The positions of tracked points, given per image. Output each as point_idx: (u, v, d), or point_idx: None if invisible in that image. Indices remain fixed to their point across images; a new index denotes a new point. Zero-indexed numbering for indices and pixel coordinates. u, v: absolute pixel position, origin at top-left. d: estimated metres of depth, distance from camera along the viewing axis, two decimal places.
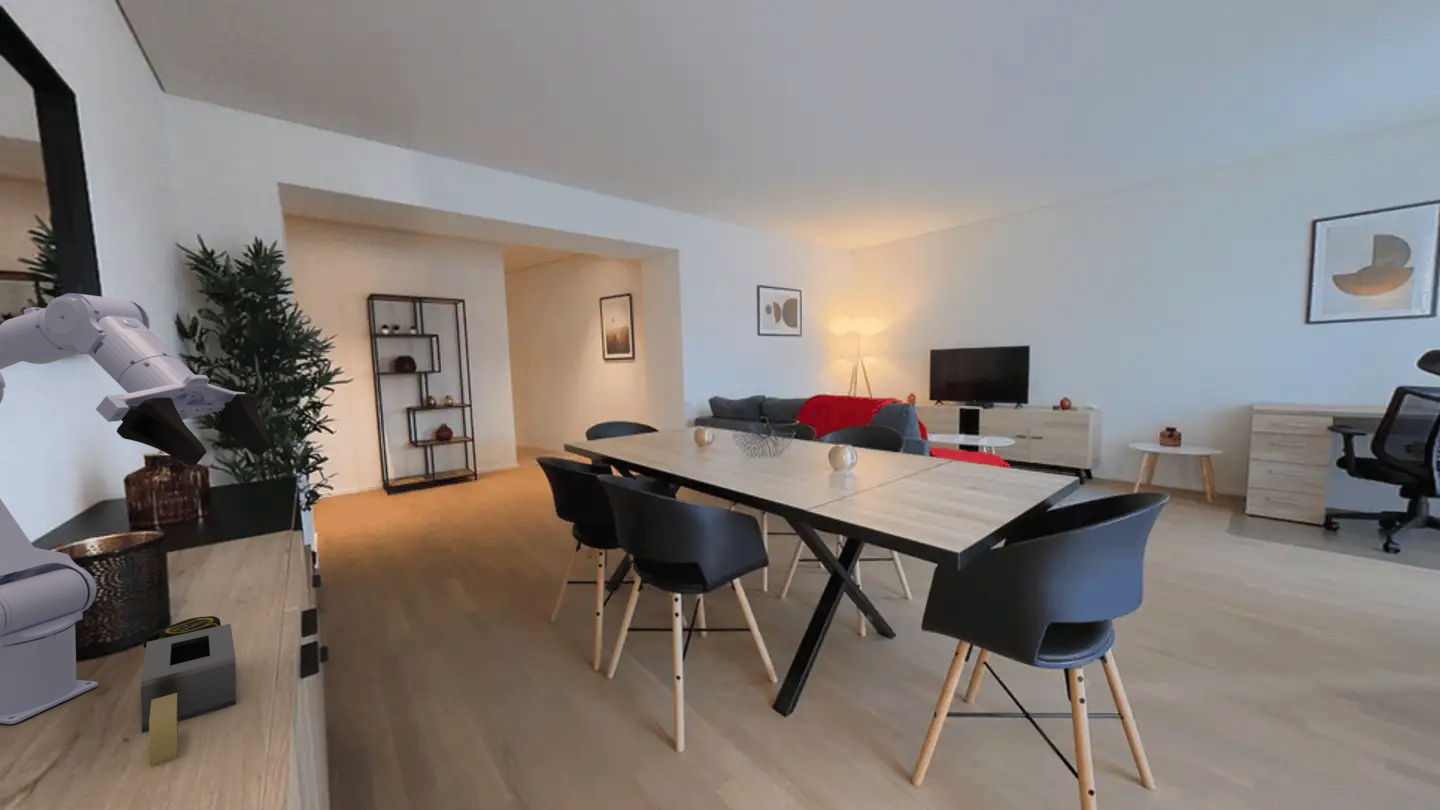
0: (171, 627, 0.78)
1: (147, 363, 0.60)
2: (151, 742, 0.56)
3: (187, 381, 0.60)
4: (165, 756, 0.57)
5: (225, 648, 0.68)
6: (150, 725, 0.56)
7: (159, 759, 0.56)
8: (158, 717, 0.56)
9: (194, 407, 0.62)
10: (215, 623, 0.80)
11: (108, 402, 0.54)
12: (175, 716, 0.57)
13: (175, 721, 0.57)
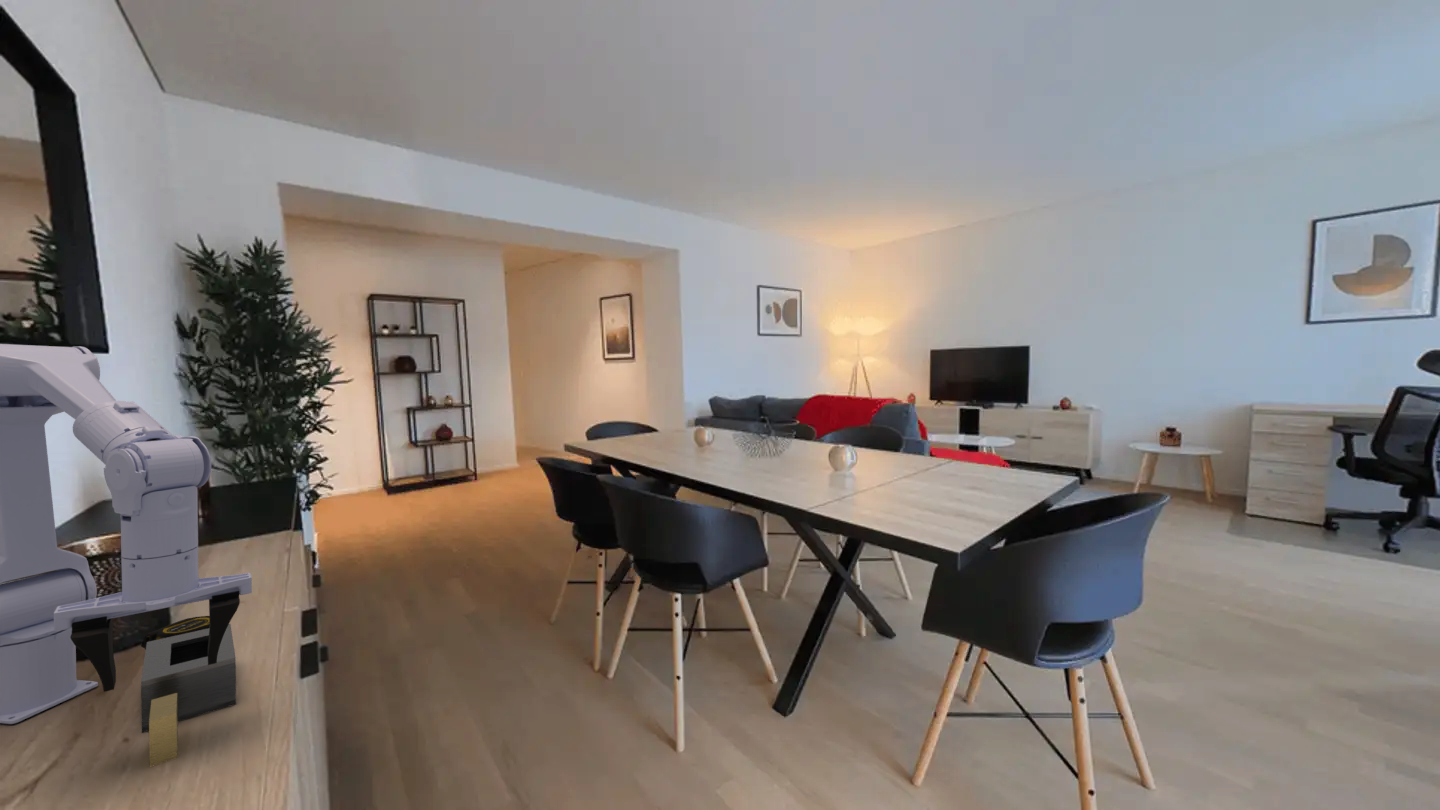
0: (169, 627, 0.78)
1: (137, 562, 0.55)
2: (151, 742, 0.56)
3: (146, 606, 0.54)
4: (165, 756, 0.57)
5: (225, 648, 0.68)
6: (150, 725, 0.56)
7: (159, 759, 0.56)
8: (158, 717, 0.56)
9: None
10: None
11: (54, 618, 0.52)
12: (175, 716, 0.57)
13: (175, 721, 0.57)
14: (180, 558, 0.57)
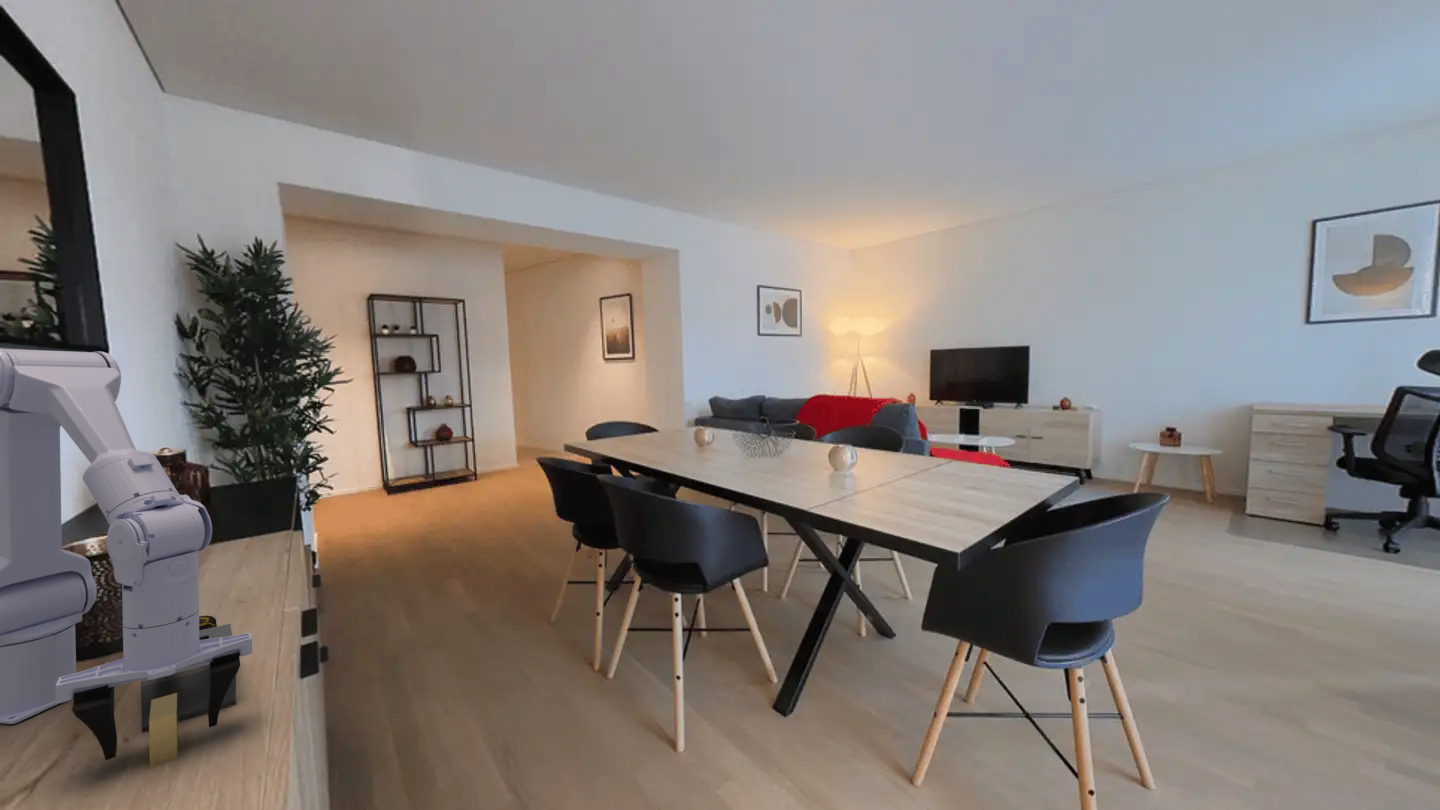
0: None
1: (138, 631, 0.55)
2: (151, 742, 0.56)
3: (147, 675, 0.55)
4: (165, 756, 0.57)
5: None
6: (150, 725, 0.56)
7: (159, 759, 0.56)
8: (158, 717, 0.56)
9: None
10: (211, 623, 0.80)
11: (56, 690, 0.52)
12: (175, 716, 0.57)
13: (175, 721, 0.57)
14: (181, 625, 0.57)
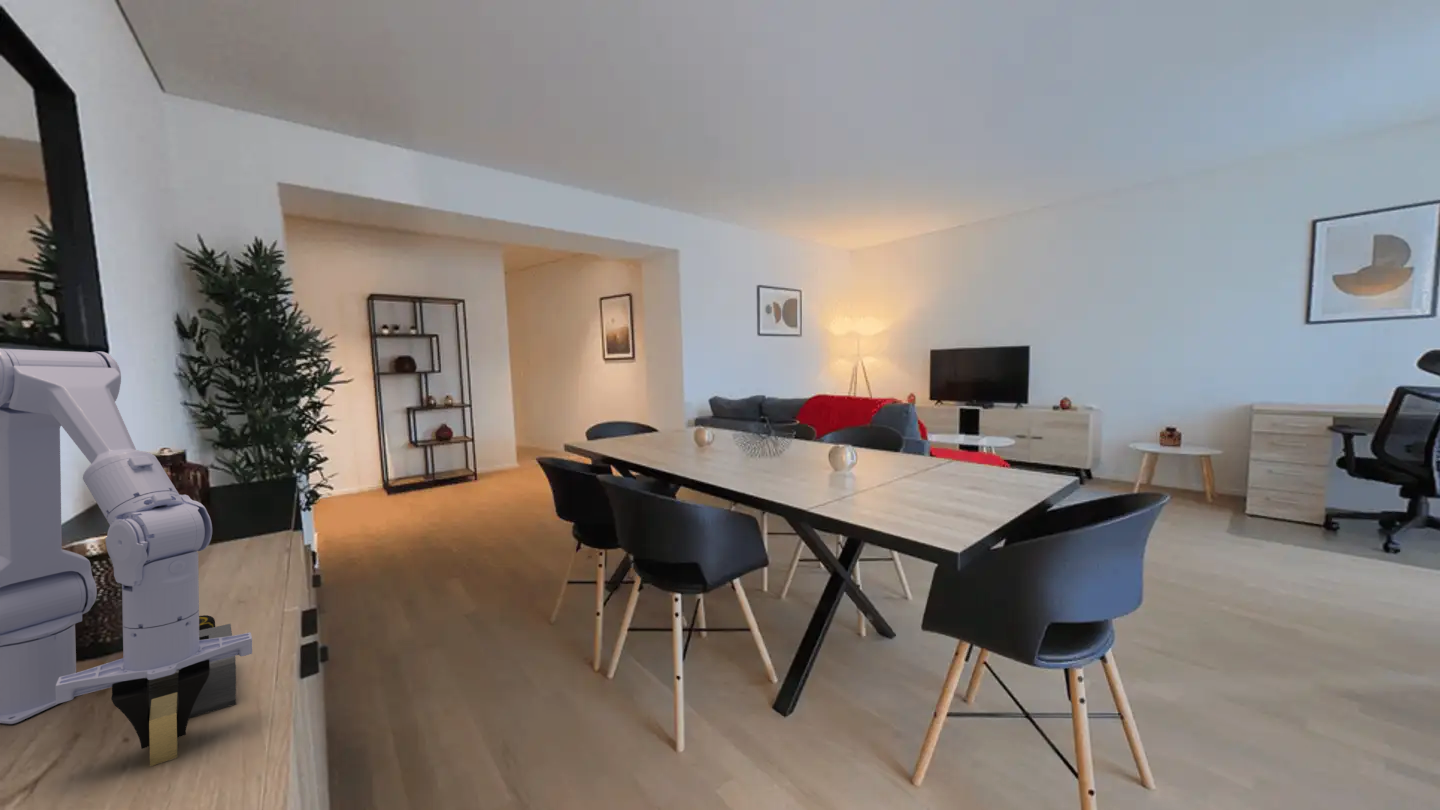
0: None
1: (138, 631, 0.55)
2: (151, 741, 0.56)
3: (147, 675, 0.55)
4: (165, 755, 0.57)
5: None
6: (150, 724, 0.56)
7: (159, 758, 0.56)
8: (158, 716, 0.56)
9: None
10: (210, 622, 0.80)
11: (56, 690, 0.52)
12: (175, 715, 0.57)
13: (175, 720, 0.57)
14: (181, 625, 0.57)
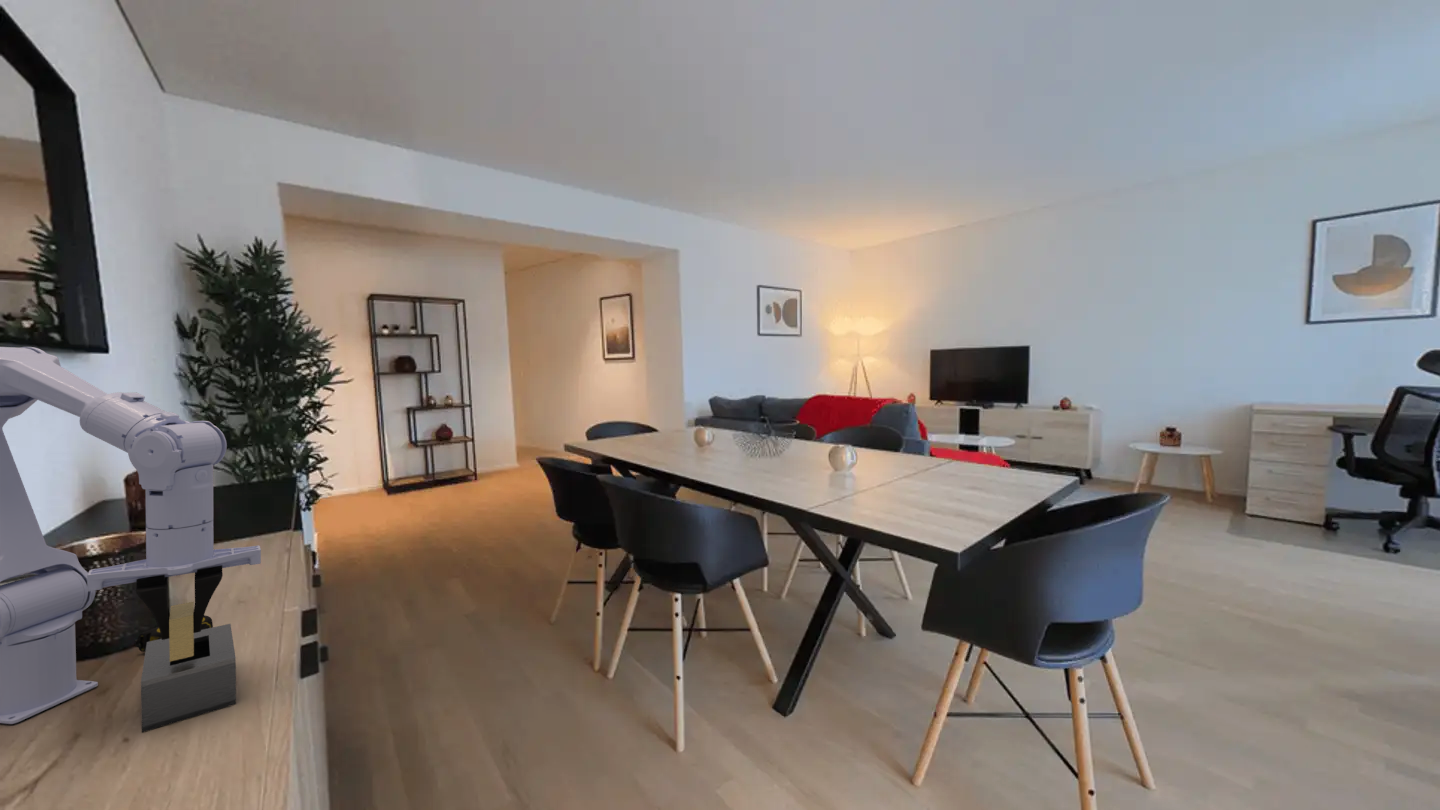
0: None
1: (159, 532, 0.61)
2: (171, 639, 0.62)
3: None
4: (183, 653, 0.63)
5: (225, 648, 0.68)
6: (170, 623, 0.62)
7: (178, 655, 0.63)
8: (177, 617, 0.63)
9: (186, 572, 0.64)
10: (207, 622, 0.80)
11: (87, 580, 0.59)
12: (192, 617, 0.63)
13: (192, 622, 0.63)
14: (197, 529, 0.63)
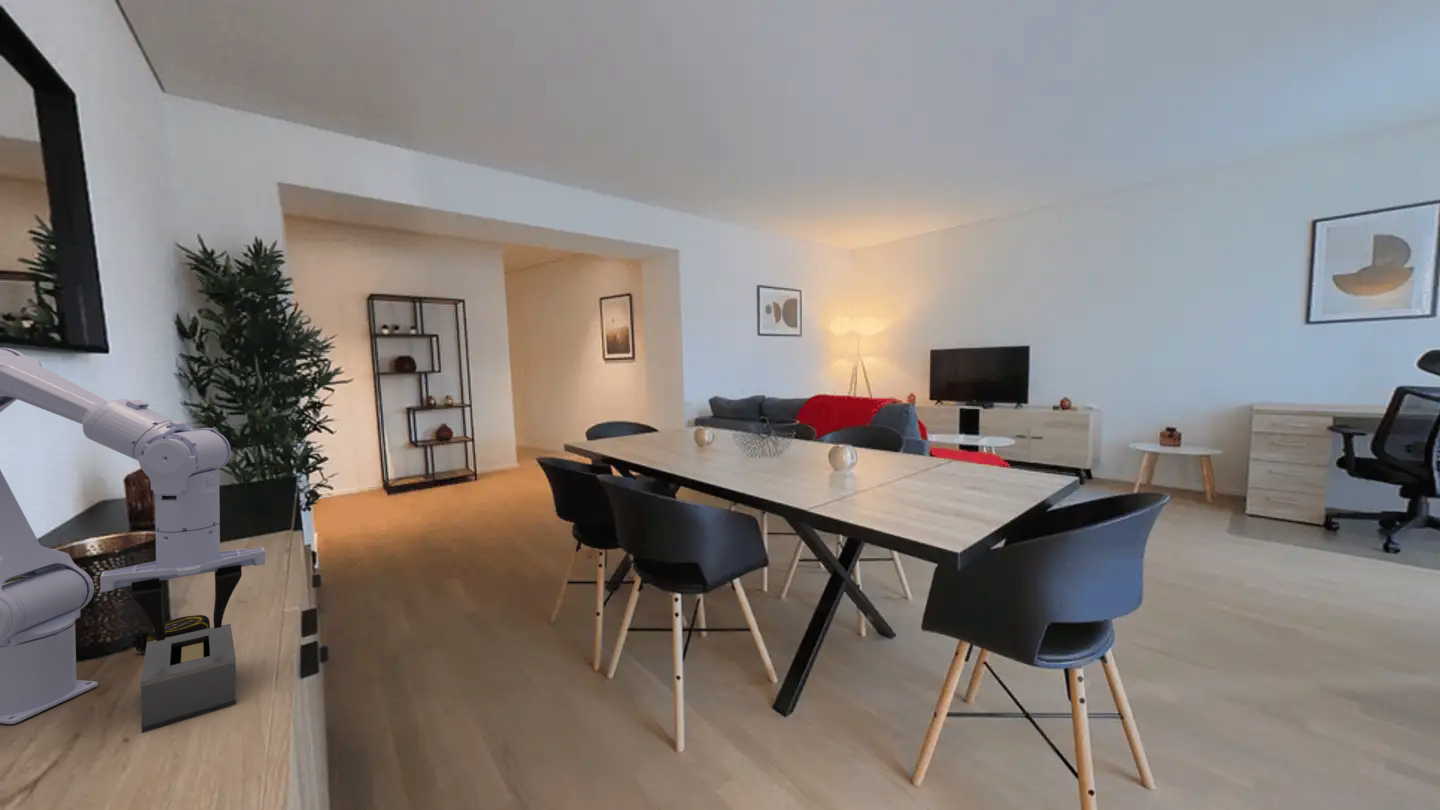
0: None
1: (169, 535, 0.64)
2: None
3: (177, 572, 0.64)
4: None
5: (225, 648, 0.68)
6: None
7: None
8: (188, 659, 0.66)
9: None
10: (204, 622, 0.80)
11: (100, 581, 0.61)
12: None
13: None
14: (205, 532, 0.66)
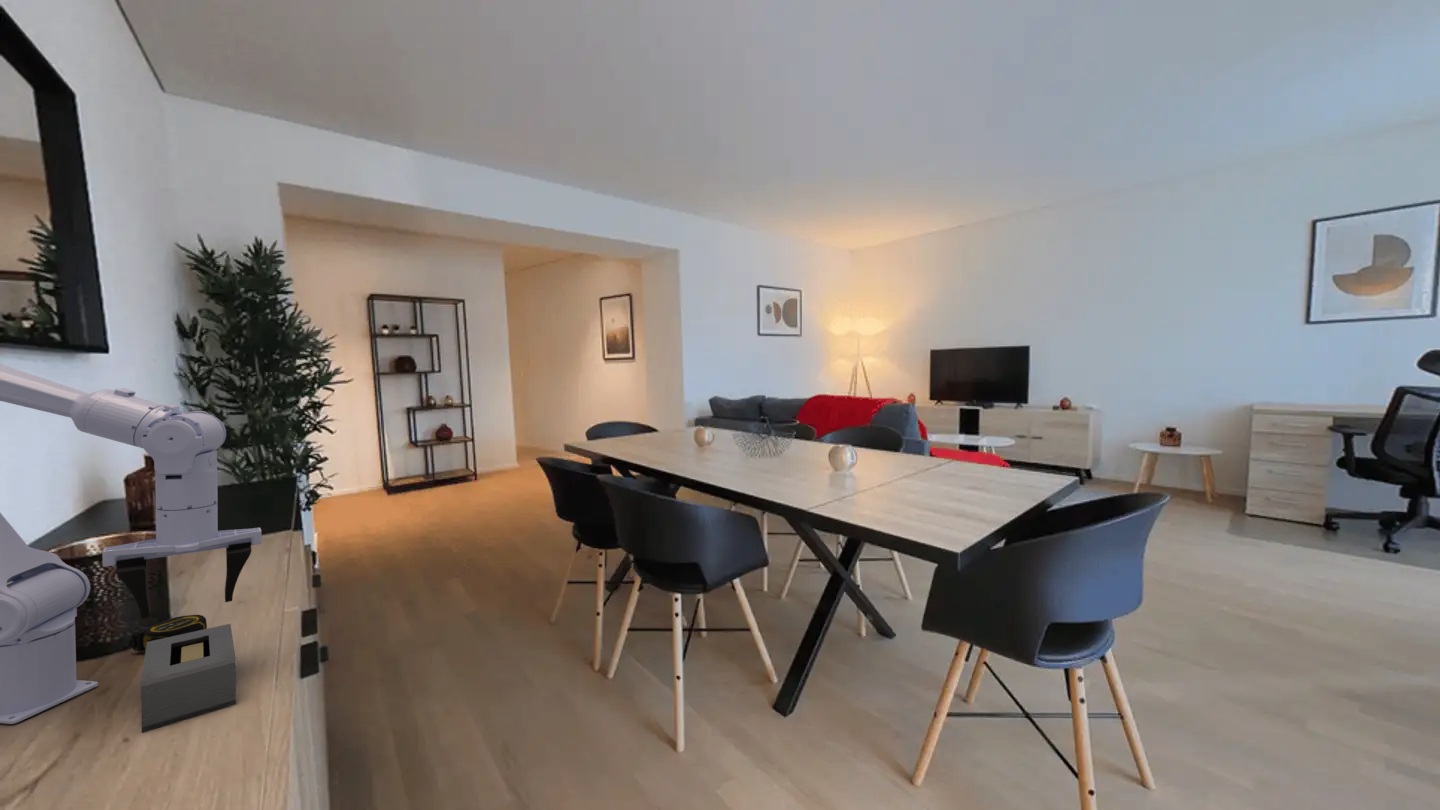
0: (156, 625, 0.78)
1: (168, 513, 0.67)
2: None
3: None
4: None
5: (225, 648, 0.68)
6: None
7: None
8: (188, 659, 0.66)
9: (193, 551, 0.70)
10: (201, 622, 0.80)
11: None
12: None
13: None
14: (203, 511, 0.69)
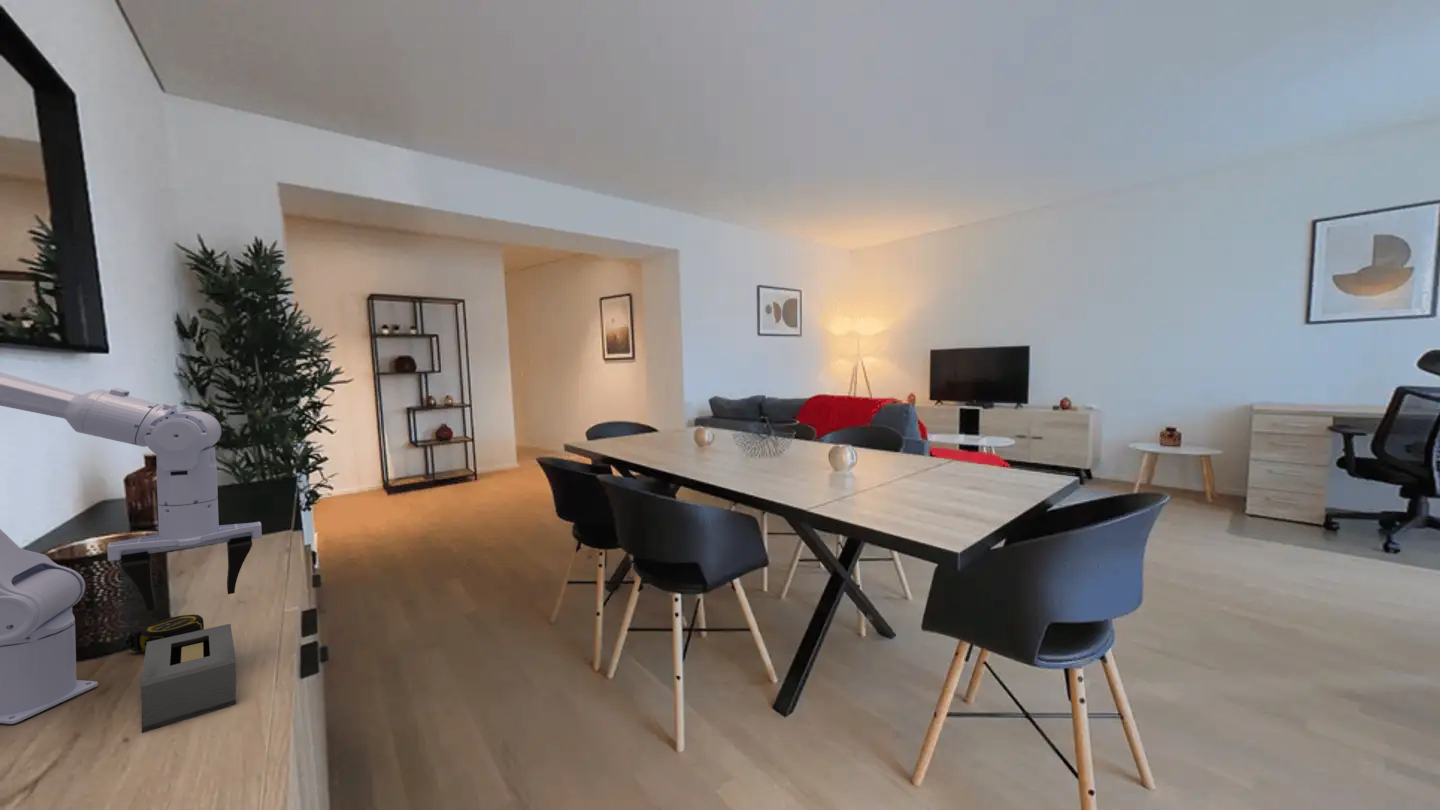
0: (153, 625, 0.78)
1: (170, 508, 0.69)
2: None
3: (178, 543, 0.68)
4: None
5: (225, 648, 0.68)
6: None
7: None
8: (188, 659, 0.66)
9: (195, 545, 0.72)
10: (198, 621, 0.80)
11: (107, 551, 0.66)
12: None
13: None
14: (204, 506, 0.71)
